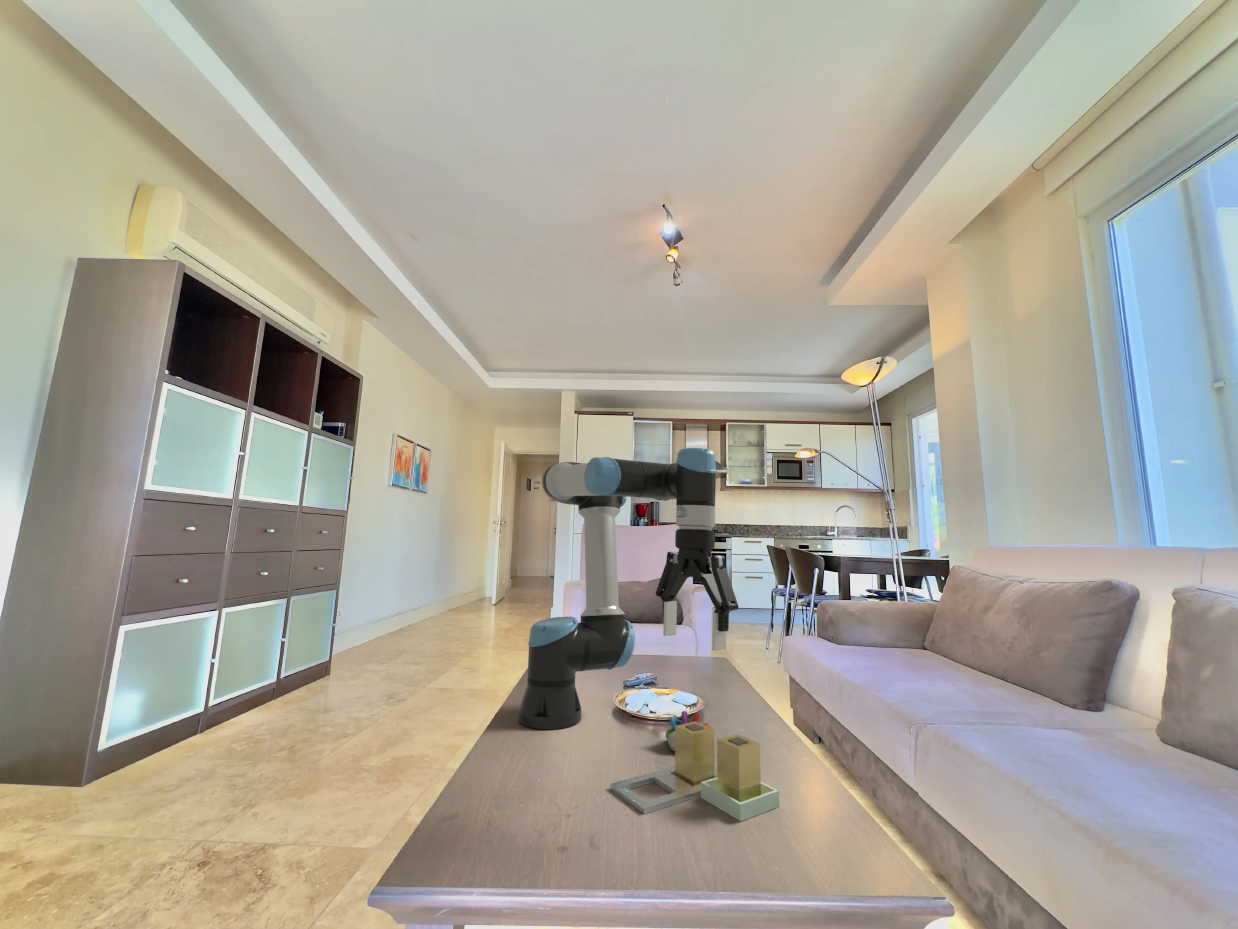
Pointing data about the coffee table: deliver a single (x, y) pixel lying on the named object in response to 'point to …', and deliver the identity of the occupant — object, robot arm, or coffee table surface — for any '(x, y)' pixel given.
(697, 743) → the tan textured tower
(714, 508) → the robot arm
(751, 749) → the brass block
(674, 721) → the colorful toy
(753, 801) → the tray
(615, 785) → the grey frame plate
